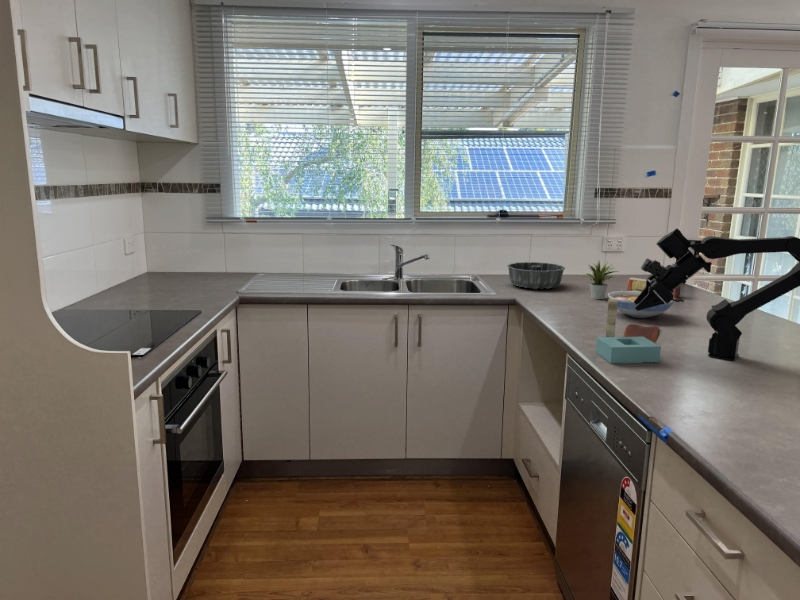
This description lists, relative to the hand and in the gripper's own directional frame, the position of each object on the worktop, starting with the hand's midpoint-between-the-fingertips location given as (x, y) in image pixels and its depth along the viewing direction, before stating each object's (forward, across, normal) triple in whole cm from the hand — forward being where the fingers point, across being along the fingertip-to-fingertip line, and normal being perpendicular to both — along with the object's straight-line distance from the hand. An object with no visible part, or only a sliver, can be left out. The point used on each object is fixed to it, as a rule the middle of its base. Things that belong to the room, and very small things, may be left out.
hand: (635, 306), depth 163 cm
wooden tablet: (+7, -16, +12) cm, 21 cm away
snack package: (+1, -92, +18) cm, 93 cm away
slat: (+13, 0, +5) cm, 14 cm away
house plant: (+17, -73, +1) cm, 75 cm away
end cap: (+10, +10, +8) cm, 16 cm away
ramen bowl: (+6, -45, +12) cm, 47 cm away
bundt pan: (+37, -94, -18) cm, 102 cm away
